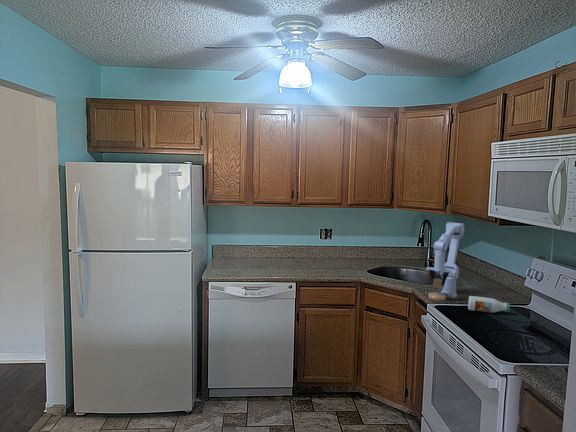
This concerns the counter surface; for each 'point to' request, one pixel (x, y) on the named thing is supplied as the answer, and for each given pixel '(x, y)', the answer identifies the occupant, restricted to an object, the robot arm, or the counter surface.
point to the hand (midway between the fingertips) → (438, 284)
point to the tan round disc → (436, 296)
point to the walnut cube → (438, 283)
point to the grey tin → (452, 295)
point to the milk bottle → (487, 304)
